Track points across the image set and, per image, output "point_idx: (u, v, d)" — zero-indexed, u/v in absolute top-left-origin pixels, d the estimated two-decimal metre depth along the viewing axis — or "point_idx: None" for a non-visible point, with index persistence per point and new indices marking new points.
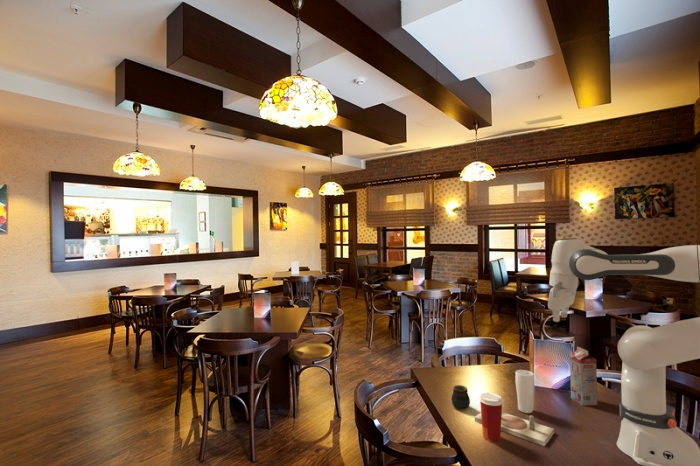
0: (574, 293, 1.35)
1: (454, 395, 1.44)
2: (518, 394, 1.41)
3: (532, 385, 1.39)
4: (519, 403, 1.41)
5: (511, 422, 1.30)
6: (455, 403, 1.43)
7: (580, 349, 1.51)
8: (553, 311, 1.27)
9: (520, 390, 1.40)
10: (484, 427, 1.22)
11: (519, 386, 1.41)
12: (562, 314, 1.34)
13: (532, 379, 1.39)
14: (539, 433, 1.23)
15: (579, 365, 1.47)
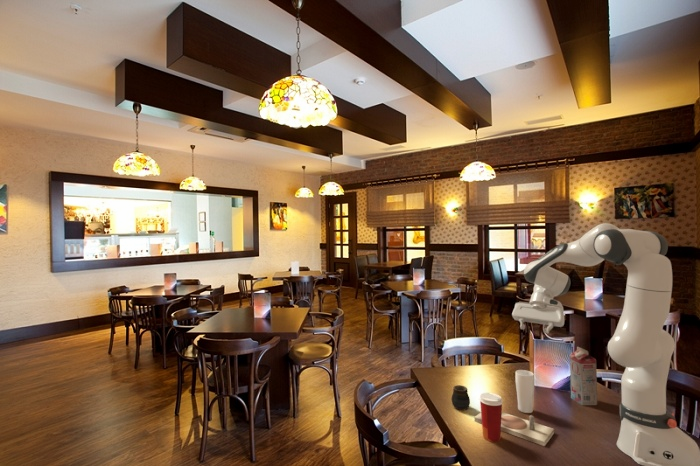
0: (558, 312, 1.49)
1: (454, 395, 1.44)
2: (518, 394, 1.41)
3: (532, 385, 1.39)
4: (519, 403, 1.41)
5: (511, 422, 1.30)
6: (455, 403, 1.43)
7: (580, 349, 1.51)
8: None
9: (520, 390, 1.40)
10: (484, 427, 1.22)
11: (519, 386, 1.41)
12: None
13: (532, 379, 1.39)
14: (539, 433, 1.23)
15: (579, 365, 1.47)
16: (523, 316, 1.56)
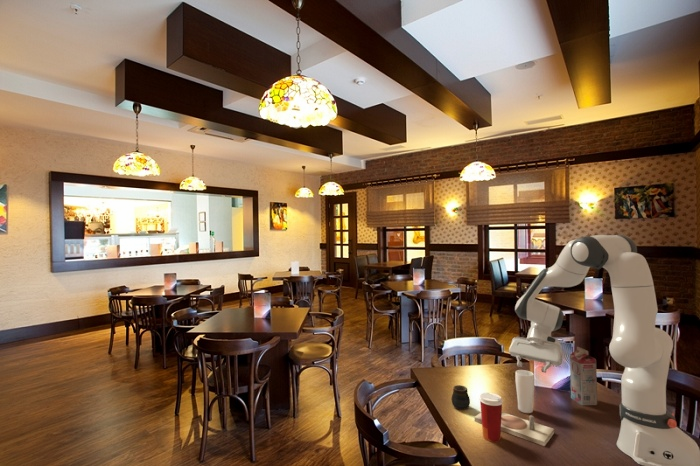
0: (556, 351, 1.45)
1: (454, 395, 1.44)
2: (518, 394, 1.41)
3: (532, 385, 1.39)
4: (519, 403, 1.41)
5: (511, 422, 1.30)
6: (455, 403, 1.43)
7: (580, 349, 1.51)
8: None
9: (520, 390, 1.40)
10: (484, 427, 1.22)
11: (519, 386, 1.41)
12: (542, 369, 1.45)
13: (532, 379, 1.39)
14: (539, 433, 1.23)
15: (579, 365, 1.47)
16: (520, 353, 1.53)
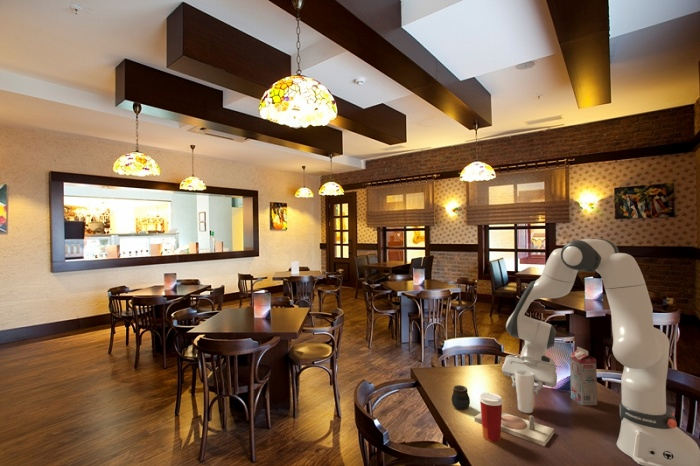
0: (550, 371, 1.40)
1: (454, 395, 1.44)
2: (518, 394, 1.41)
3: (532, 385, 1.39)
4: (519, 403, 1.41)
5: (511, 422, 1.30)
6: (455, 403, 1.43)
7: (580, 349, 1.51)
8: None
9: (520, 390, 1.40)
10: (484, 427, 1.22)
11: (519, 386, 1.41)
12: None
13: (532, 379, 1.39)
14: (539, 433, 1.23)
15: (579, 365, 1.47)
16: (513, 373, 1.47)
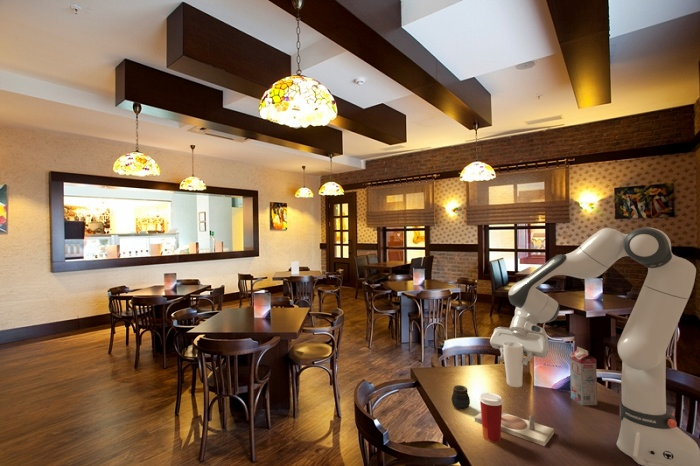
0: (541, 341, 1.30)
1: (454, 395, 1.44)
2: (506, 367, 1.32)
3: (521, 357, 1.29)
4: (507, 377, 1.32)
5: (511, 422, 1.30)
6: (455, 403, 1.43)
7: (580, 349, 1.51)
8: None
9: (508, 363, 1.31)
10: (484, 427, 1.22)
11: (507, 358, 1.31)
12: None
13: (521, 350, 1.29)
14: (539, 433, 1.23)
15: (579, 365, 1.47)
16: (502, 344, 1.37)
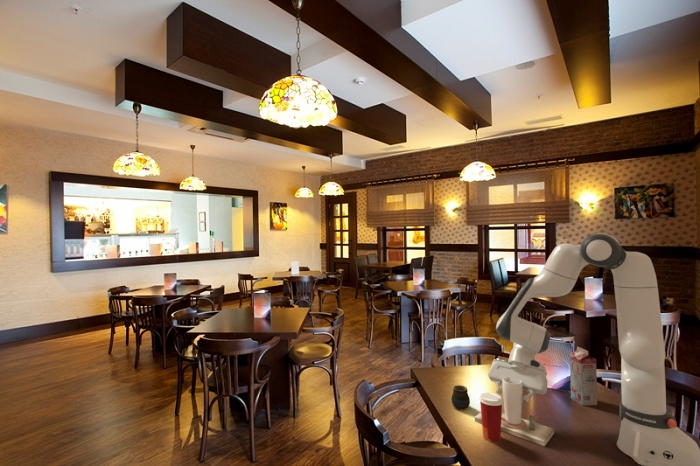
0: (540, 377, 1.27)
1: (454, 395, 1.44)
2: (505, 404, 1.30)
3: (520, 394, 1.27)
4: (506, 413, 1.29)
5: None
6: (455, 403, 1.43)
7: (580, 349, 1.51)
8: None
9: (507, 399, 1.29)
10: (484, 427, 1.22)
11: (506, 395, 1.29)
12: None
13: (520, 387, 1.27)
14: (539, 433, 1.23)
15: (579, 365, 1.47)
16: (500, 378, 1.35)
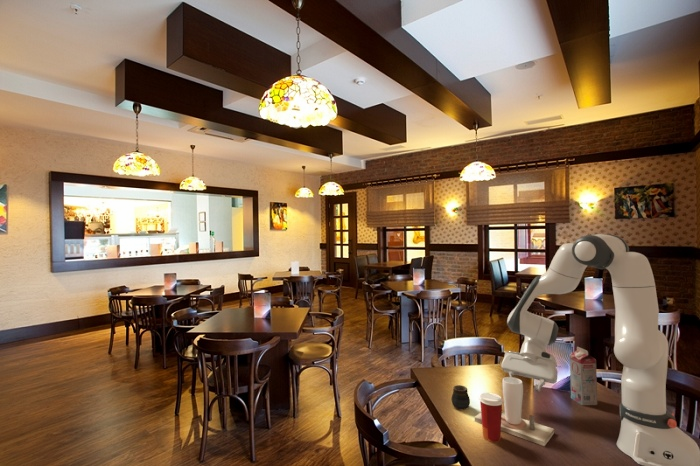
0: (550, 368, 1.37)
1: (454, 395, 1.44)
2: (505, 403, 1.30)
3: (520, 394, 1.27)
4: (506, 413, 1.29)
5: None
6: (455, 403, 1.43)
7: (580, 349, 1.51)
8: None
9: (507, 399, 1.28)
10: (484, 427, 1.22)
11: (506, 395, 1.29)
12: None
13: (520, 387, 1.27)
14: (539, 433, 1.23)
15: (579, 365, 1.47)
16: (513, 369, 1.44)
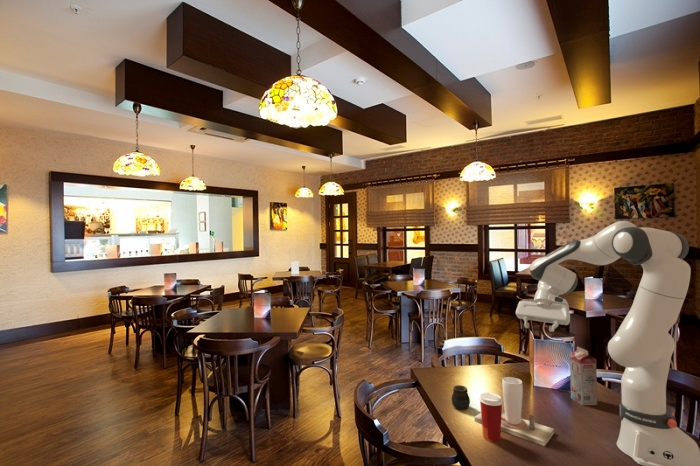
0: (564, 310, 1.44)
1: (454, 395, 1.44)
2: (505, 404, 1.30)
3: (520, 394, 1.27)
4: (506, 413, 1.29)
5: None
6: (455, 403, 1.43)
7: (580, 349, 1.51)
8: None
9: (507, 399, 1.28)
10: (484, 427, 1.22)
11: (506, 395, 1.29)
12: None
13: (520, 387, 1.27)
14: (539, 433, 1.23)
15: (579, 365, 1.47)
16: (527, 314, 1.52)
